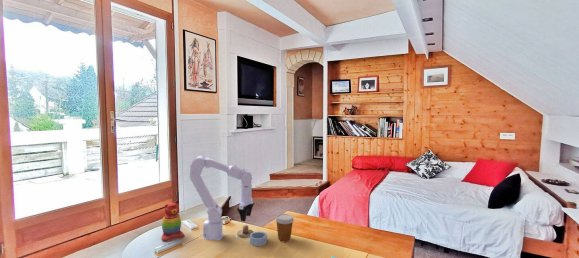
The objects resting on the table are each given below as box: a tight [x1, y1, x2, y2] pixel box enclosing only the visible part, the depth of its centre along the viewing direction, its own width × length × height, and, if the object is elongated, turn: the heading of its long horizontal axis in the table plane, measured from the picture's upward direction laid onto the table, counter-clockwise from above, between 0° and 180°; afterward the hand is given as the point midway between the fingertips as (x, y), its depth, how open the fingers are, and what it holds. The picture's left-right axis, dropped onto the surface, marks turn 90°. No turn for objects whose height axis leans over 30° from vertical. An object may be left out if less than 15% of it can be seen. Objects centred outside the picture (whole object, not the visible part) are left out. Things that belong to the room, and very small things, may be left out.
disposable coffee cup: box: [275, 213, 295, 243], centre depth 142 cm, size 10×10×12 cm
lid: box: [236, 224, 254, 239], centre depth 147 cm, size 9×9×4 cm
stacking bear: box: [161, 201, 185, 243], centre depth 144 cm, size 11×10×18 cm
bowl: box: [249, 231, 268, 247], centre depth 138 cm, size 9×9×4 cm
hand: (245, 218), depth 146 cm, fingers open, 7 cm apart
